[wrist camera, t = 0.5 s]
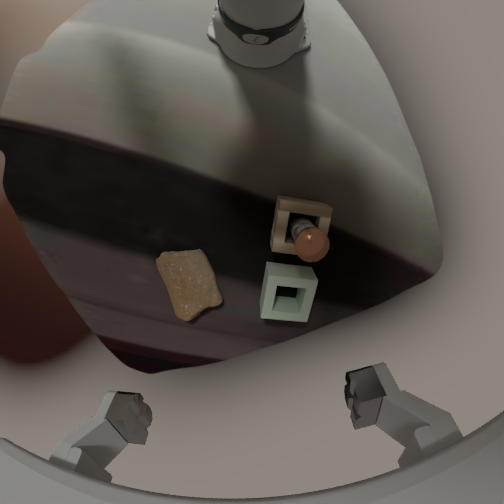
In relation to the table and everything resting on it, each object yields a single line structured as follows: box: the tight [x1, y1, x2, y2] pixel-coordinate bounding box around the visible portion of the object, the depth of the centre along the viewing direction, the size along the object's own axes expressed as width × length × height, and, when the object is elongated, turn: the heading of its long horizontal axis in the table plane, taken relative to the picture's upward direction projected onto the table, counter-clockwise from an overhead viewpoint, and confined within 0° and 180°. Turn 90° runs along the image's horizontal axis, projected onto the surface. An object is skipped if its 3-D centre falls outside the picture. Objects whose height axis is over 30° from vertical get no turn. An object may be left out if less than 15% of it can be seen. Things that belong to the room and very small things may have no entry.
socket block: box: [260, 262, 318, 322], centre depth 52 cm, size 9×9×6 cm
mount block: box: [270, 195, 333, 255], centre depth 48 cm, size 9×9×5 cm
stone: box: [156, 249, 223, 321], centre depth 53 cm, size 11×16×3 cm
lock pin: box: [287, 213, 329, 262], centre depth 44 cm, size 5×5×13 cm
